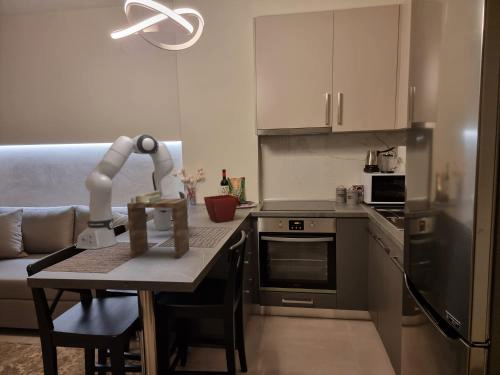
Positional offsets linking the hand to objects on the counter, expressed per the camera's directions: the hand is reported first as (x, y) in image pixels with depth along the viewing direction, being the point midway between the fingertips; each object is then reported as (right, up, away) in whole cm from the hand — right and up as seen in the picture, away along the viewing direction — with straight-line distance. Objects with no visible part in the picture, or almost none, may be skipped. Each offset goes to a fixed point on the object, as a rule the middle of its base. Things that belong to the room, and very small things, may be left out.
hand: (165, 200), depth 190 cm
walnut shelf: (+3, -25, -21) cm, 33 cm away
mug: (-8, -20, +34) cm, 40 cm away
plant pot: (+26, -17, +55) cm, 63 cm away
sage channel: (-4, 0, -22) cm, 22 cm away
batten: (-3, +1, -18) cm, 19 cm away
